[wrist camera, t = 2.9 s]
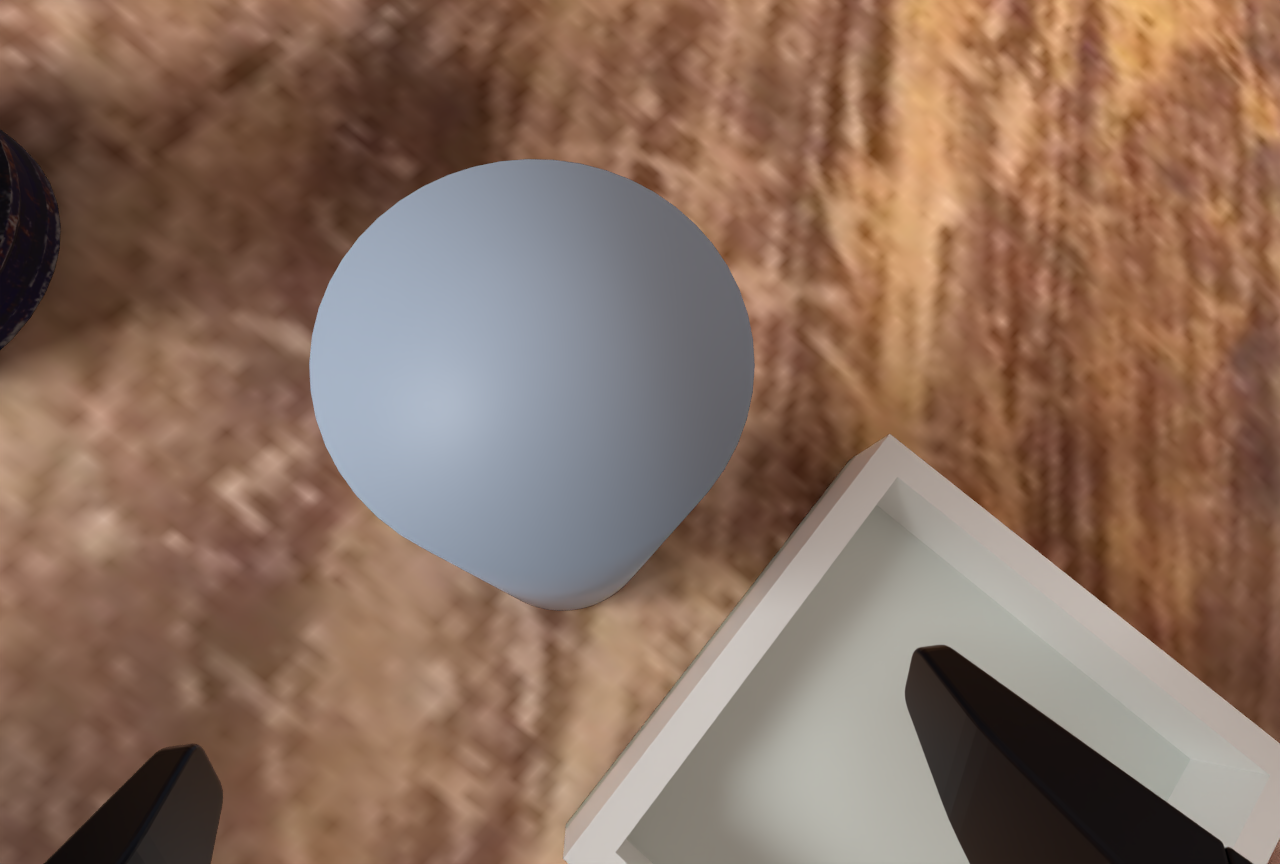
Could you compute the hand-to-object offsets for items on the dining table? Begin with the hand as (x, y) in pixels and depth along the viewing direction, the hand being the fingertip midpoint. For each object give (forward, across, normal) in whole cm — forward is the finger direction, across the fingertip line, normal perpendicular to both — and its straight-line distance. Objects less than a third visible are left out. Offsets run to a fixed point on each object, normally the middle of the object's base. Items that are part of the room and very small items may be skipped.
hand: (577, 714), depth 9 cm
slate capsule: (+11, 0, +5) cm, 12 cm away
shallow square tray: (+5, -8, +10) cm, 14 cm away
